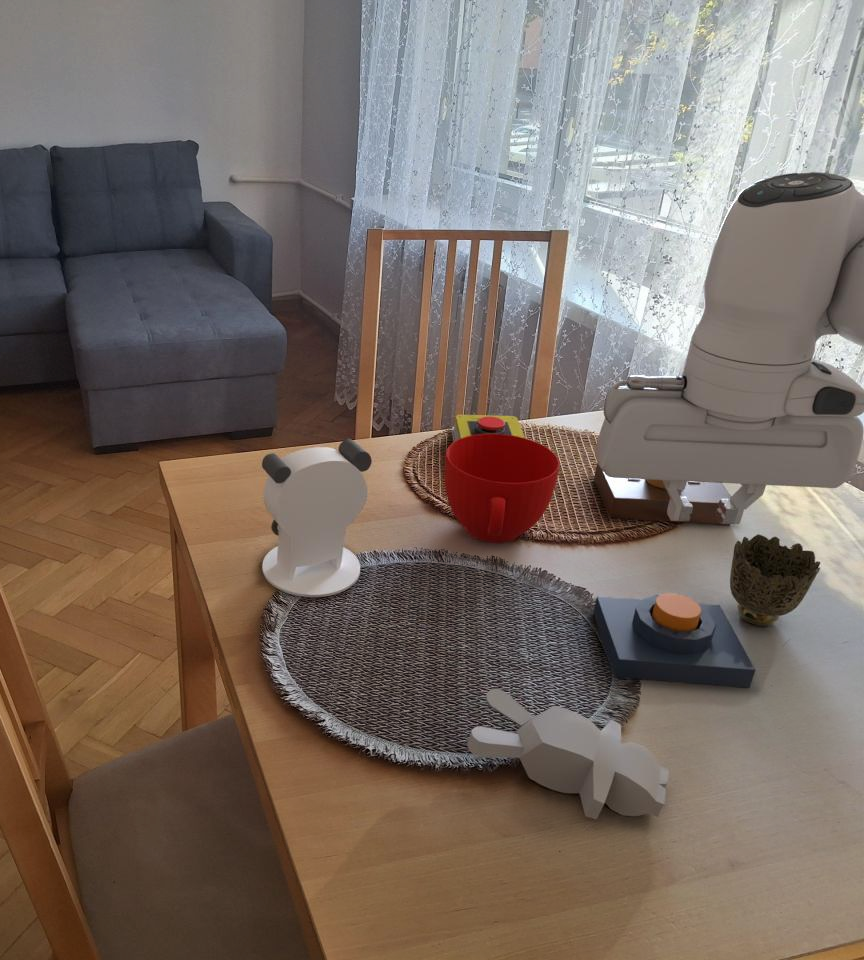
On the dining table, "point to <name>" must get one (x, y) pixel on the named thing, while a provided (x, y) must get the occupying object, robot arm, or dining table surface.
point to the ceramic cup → (499, 484)
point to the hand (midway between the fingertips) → (702, 519)
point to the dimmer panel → (657, 499)
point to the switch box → (671, 645)
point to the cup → (770, 578)
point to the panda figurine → (314, 517)
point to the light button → (676, 612)
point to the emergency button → (485, 426)
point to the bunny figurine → (576, 758)
